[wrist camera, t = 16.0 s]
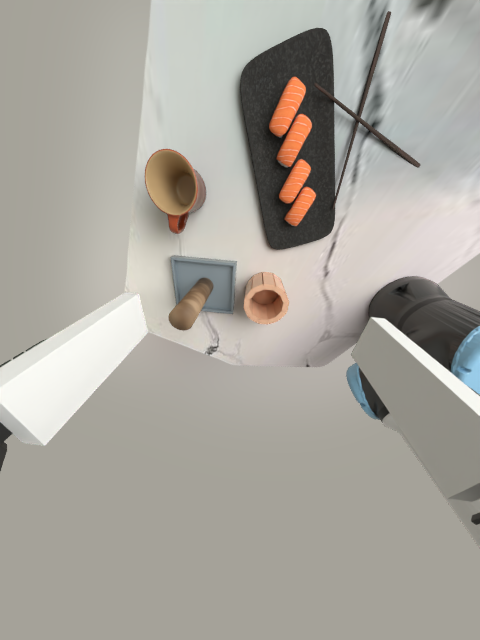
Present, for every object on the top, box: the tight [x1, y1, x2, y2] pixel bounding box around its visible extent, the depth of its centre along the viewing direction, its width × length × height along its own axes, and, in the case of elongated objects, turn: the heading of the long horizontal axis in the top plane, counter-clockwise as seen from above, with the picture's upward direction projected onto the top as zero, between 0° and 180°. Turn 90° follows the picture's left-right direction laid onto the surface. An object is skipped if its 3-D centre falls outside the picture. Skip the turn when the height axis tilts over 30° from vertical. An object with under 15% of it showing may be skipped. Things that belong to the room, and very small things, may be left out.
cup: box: [244, 272, 289, 324], centre depth 44 cm, size 10×10×9 cm
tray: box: [171, 255, 237, 314], centre depth 48 cm, size 16×14×2 cm
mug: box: [145, 149, 206, 234], centre depth 34 cm, size 12×9×10 cm
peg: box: [169, 278, 213, 330], centre depth 40 cm, size 4×4×18 cm
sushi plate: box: [240, 11, 420, 249], centre depth 32 cm, size 29×30×4 cm
